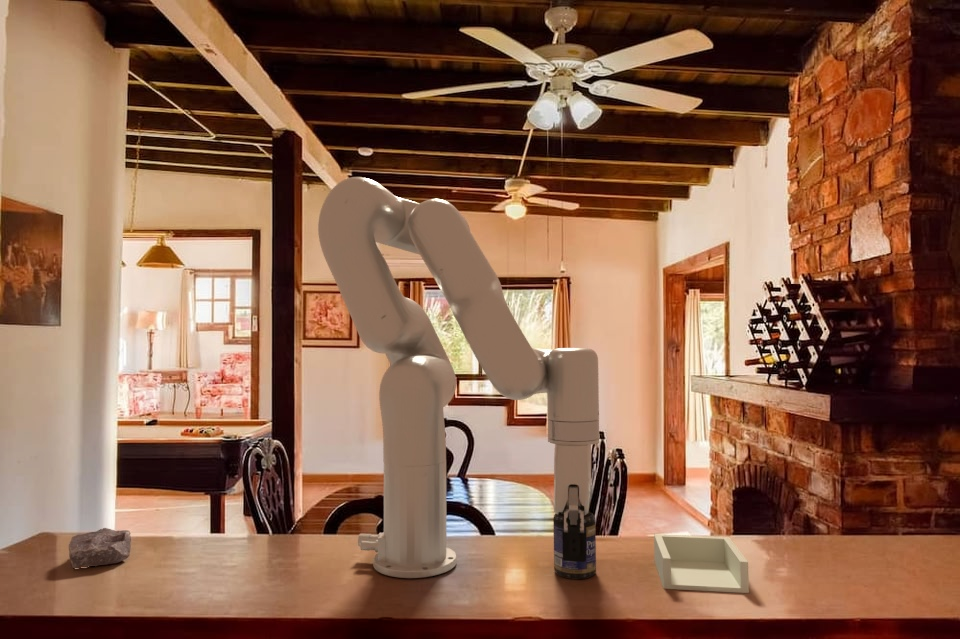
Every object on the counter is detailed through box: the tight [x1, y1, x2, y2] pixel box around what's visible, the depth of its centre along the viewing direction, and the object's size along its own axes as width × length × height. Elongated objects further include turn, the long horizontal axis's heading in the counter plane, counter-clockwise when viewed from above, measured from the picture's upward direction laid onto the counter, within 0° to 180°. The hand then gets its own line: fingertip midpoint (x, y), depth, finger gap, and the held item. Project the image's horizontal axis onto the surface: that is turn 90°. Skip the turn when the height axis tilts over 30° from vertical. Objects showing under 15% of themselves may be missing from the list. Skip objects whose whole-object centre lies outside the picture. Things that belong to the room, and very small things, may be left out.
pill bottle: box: [553, 493, 597, 580], centre depth 93 cm, size 6×6×11 cm
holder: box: [653, 533, 750, 594], centre depth 91 cm, size 11×11×4 cm
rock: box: [68, 527, 132, 570], centre depth 101 cm, size 8×11×5 cm
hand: (574, 549), depth 93 cm, fingers open, 9 cm apart
